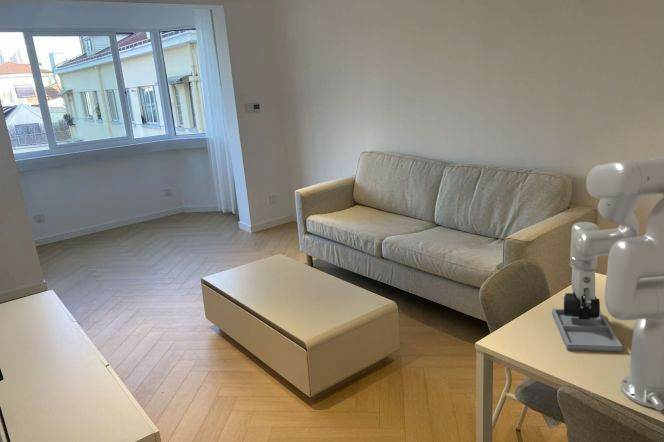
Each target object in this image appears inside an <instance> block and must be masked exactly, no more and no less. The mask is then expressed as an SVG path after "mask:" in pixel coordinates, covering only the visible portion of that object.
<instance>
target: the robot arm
mask: <svg viewBox="0 0 664 442" xmlns="http://www.w3.org/2000/svg"><path fill="white" fill-rule="evenodd" d="M585 187H586V191H587V193H588V194H589V195H590V197H592V198H594V199H600V200H599V202H598V205H597V209H598V213H599V214H600V215H601V217H603V218H604V219H606V220H607V221H609V222H611V223H614V224H617V225H618V227H617V228H607V229H600V228H599V226H598V225H597V224H596V223H594V222H590V221H579V222H575V223H574V224H573V225H572V227H571V230H570V231H571V232H570V233H571V234H570V235H571V236H570V254H569V258H570V259H569V266H570V267H571V268H572V271H571V288H572V294H573V293H574V294H575V295H576V297H577V298H578V299H579V300H580V307H579V315H578V318H579V319H590V309H591V305H590V304H591V299H592V300H594V299H595V296H596V271H595V270H596V269H597V267H598V257H605V256H608V258H607V268H606V278H605V288H604V301H605V307H606V309H607V312H608V314H609V315H610V316H611V317H612V318H614V319H616V320H618V321H635V323H634V326H633V329H632V337H631V348H630V359H629V370H628V375H627V376H624V378H623V379H622V380H621V383H620V390H621V392H622V393H623V394H624V395H625V397H626V398H628V399H630V400H631V401H633V402H635V403H637V404H639V405H641V406H644V407H647V408H653V409H655V410H657V411H662V410H664V156H656V157H655V156H654V157H648V158H636V159H627V160H620V161H613V162H610V163H609V162H608V163H603V164H597V165H596V166H594V167H592V169H590V170H589V173H588V174H587V177H586V181H585ZM651 195H652V196H653V195H662V198H661V199H659V200H658V201H657V202H656V204H655V205H654V206H653V208H652V209H651V211H650V213H649V214H648V217H647V221H646V223H647V224H646V230H645V233H644V234H643V235H641V236H639V232H640V231H639V229H640V227H639V221H638V218H637V216H636V214H635V211H636V209H637V207H638V205H639V203H640V202H641V200H642V198H643V197H644V196H651ZM590 298H591V299H590ZM582 300H585V303H582Z"/></svg>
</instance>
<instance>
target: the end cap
mask: <svg viewBox="0 0 664 442" xmlns="http://www.w3.org/2000/svg"><path fill="white" fill-rule="evenodd" d="M590 299H591V298H590ZM582 303H585V300H582ZM590 305H591V309H590V318H597V317H599V314H600V311H601V303H600V299H599V298H597V295H595V299H594V300H592V299H591V304H590ZM579 307H580V300H579V299H578V298H577V297H576V295H575V294H574V293H573V292H571V293H570V292H567V293H566V292H565V294H564V297H563V309H564V315H565V316H573V317H578V315H579Z"/></svg>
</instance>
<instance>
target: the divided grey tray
mask: <svg viewBox="0 0 664 442" xmlns="http://www.w3.org/2000/svg"><path fill="white" fill-rule="evenodd" d="M551 315H552V318H553V319H554V322H555V325H556V327H557V329H558V332H559V334H560V337H561V339H562V341H563V344H564V346H565V349H566V350H567V351H571V352H572V351H575V352H578V351H579V352H605V353H606V352H607V353H608V352H609V353H613V352H615V353H622V352H623V345H622V343H621V341H620V340H619V338H618V337H617V334H616V333H615V332H614V330H613V328H612V327H611V325H610V323H609V322H608V320H607V319H606V317H605V315H604V313H603V312H602V311H601V310H600V314H599V317H597V318H590V319H579V318H578V317H573V316H565V315H564V308H552V309H551Z"/></svg>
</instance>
